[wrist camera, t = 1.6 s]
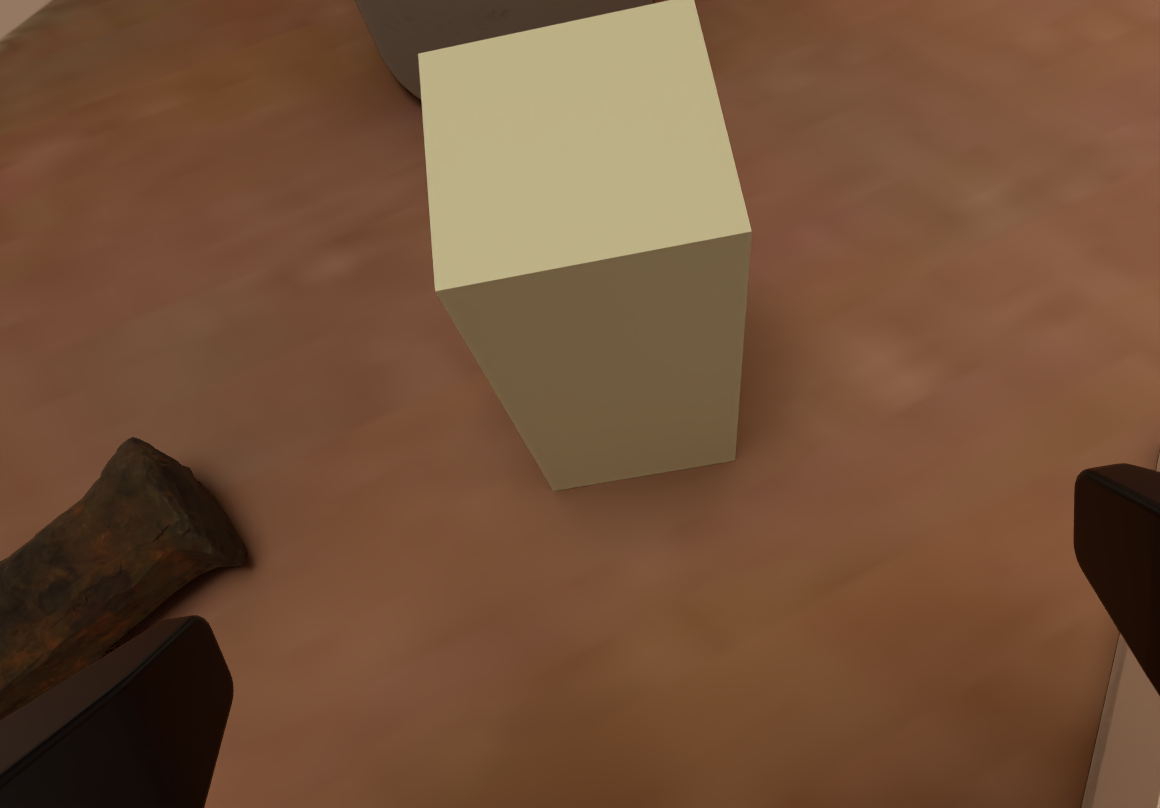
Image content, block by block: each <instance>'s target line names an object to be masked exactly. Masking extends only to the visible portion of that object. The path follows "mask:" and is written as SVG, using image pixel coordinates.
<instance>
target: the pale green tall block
mask: <svg viewBox="0 0 1160 808" xmlns="http://www.w3.org/2000/svg"><path fill="white" fill-rule="evenodd" d="M418 59H419V73H420V87H421V101H422V115H423V129H424V143H425V156H426V170H427V184H428V198H429V212H430V226H431V240H432V254H433V268H434V282H435V292H436V294H437V295H438V297H439V299H440V300H441V302H442V304H443V305H444V307H445V309H446V310H447V312H448V314H449V315H450V317H451V319H452V321H453V322H454V324H455V326H456V327H457V329H458V331H459V332H460V334H461V336H462V337H463V339H464V341H465V343H466V344H467V346H468V348H469V349H470V351H471V353H472V354H473V356H474V358H475V359H476V361H477V363H478V365H479V366H480V368H481V370H482V371H483V373H484V375H485V376H486V378H487V380H488V381H489V383H490V385H491V387H492V388H493V390H494V392H495V393H496V395H497V397H498V398H499V400H500V402H501V403H502V405H503V407H504V409H505V410H506V412H507V414H508V415H509V417H510V419H511V420H512V422H513V424H514V425H515V427H516V429H517V431H518V432H519V434H520V436H521V437H522V439H523V441H524V442H525V444H526V446H527V447H528V449H529V451H530V453H531V454H532V456H533V458H534V459H535V461H536V463H537V464H538V466H539V468H540V469H541V471H542V473H543V475H544V476H545V478H546V480H547V481H548V483H549V485H550V486H551V488H552V490H553V491H557V490H563V489H569V488H575V487H581V486H587V485H593V484H599V483H605V482H611V481H616V480H622V479H628V478H634V477H640V476H646V475H652V474H658V473H664V472H670V471H676V470H682V469H688V468H694V467H700V466H706V465H711V464H717V463H723V462H729V461H735V455H736V441H737V427H738V413H739V399H740V386H741V372H742V358H743V344H744V330H745V316H746V303H747V289H748V275H749V261H750V247H751V233H752V231H751V227H750V223H749V219H748V215H747V211H746V207H745V203H744V199H743V195H742V191H741V187H740V183H739V179H738V175H737V171H736V167H735V163H734V159H733V154H732V150H731V146H730V142H729V138H728V134H727V130H726V126H725V122H724V118H723V114H722V110H721V106H720V102H719V98H718V94H717V90H716V86H715V82H714V78H713V74H712V70H711V66H710V62H709V58H708V54H707V50H706V46H705V42H704V38H703V34H702V30H701V26H700V22H699V18H698V14H697V10H696V6H695V2H694V0H669V1H664V2H659V3H655V4H650V5H645V6H641V7H636V8H631V9H626V10H622V11H617V12H612V13H608V14H603V15H598V16H593V17H589V18H584V19H579V20H575V21H570V22H565V23H560V24H556V25H551V26H546V27H542V28H537V29H532V30H527V31H523V32H518V33H513V34H509V35H504V36H499V37H495V38H490V39H485V40H480V41H476V42H471V43H466V44H462V45H457V46H452V47H447V48H443V49H438V50H433V51H429V52H424V53H419V54H418Z"/></svg>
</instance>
